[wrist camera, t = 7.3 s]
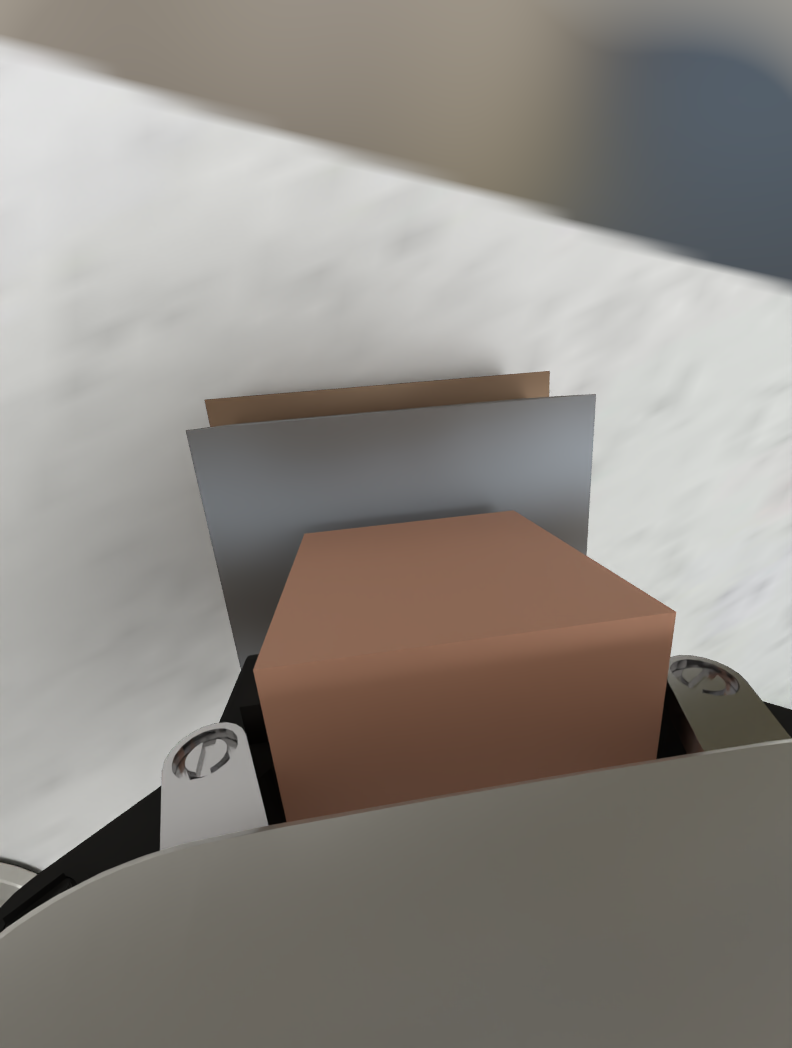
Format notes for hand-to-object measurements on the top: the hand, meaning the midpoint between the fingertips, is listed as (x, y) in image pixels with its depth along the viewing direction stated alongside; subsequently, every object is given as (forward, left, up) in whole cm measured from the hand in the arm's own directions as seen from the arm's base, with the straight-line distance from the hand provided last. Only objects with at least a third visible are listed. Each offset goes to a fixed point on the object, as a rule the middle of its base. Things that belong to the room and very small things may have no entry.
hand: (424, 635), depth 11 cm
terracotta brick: (0, 0, -1) cm, 1 cm away
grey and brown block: (0, 0, -12) cm, 12 cm away
